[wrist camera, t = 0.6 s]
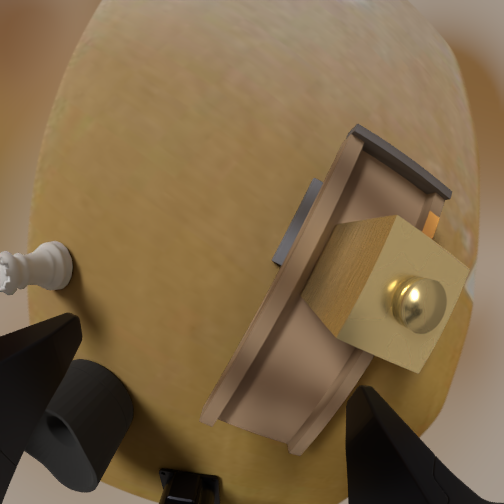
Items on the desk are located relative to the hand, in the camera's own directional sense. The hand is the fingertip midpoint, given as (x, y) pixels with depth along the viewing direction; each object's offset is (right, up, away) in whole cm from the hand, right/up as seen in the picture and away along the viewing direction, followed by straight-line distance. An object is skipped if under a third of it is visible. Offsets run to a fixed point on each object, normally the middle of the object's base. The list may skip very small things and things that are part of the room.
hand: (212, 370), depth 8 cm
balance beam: (+6, 0, +14) cm, 15 cm away
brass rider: (+7, +2, +10) cm, 12 cm away
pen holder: (-14, -11, +15) cm, 23 cm away
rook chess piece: (-17, +2, +14) cm, 22 cm away
